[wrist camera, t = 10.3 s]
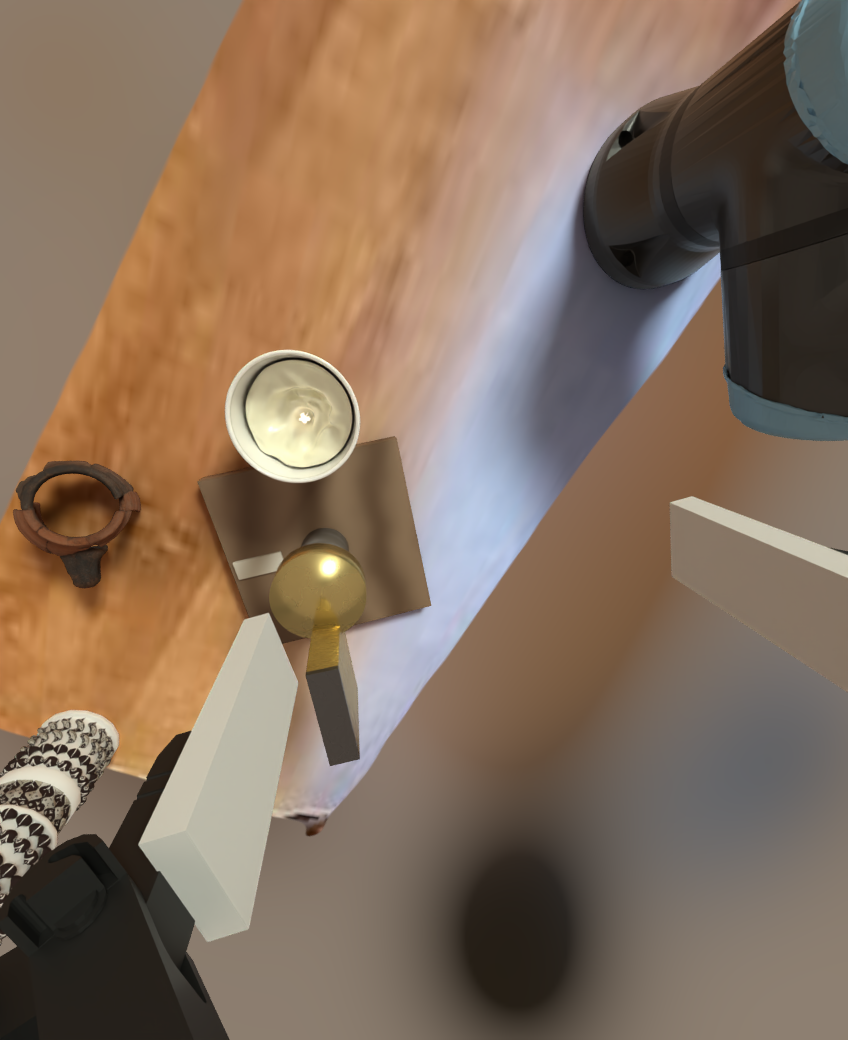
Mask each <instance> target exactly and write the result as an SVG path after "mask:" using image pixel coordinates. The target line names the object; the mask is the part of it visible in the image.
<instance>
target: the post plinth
mask: <svg viewBox="0 0 848 1040" xmlns="http://www.w3.org/2000/svg"><path fill="white" fill-rule="evenodd" d="M198 485H199V487H200V490H201V493H202V495H203V498H204V501H205V503H206V506H207V508H208V511H209V514H210V516H211V519H212V521H213V524H214V527H215V529H216V532H217V534H218V537H219V540H220V542H221V545H222V548H223V550H224V553H225V555H226V558H227V561H228V563H229V566H230V568H231V571H232V574H233V576H234V579H235V581H236V584H237V587H238V589H239V592H240V595H241V597H242V600H243V602H244V605H245V608H246V610H247V613H248V615H249V618H252V617H256V616H259V615H263V614H266V613H269V614H270V617H271V619H272V621H273V624H274V626H275V629H276V631H277V633H278V636H279V638H280V640H281V643H282V644H283V643H287V642H291V641H295V640H299V639H302V638H304V637H301V636H298V635H296V634H293V633H291V632H290V631H288V630H287V629H285V628H284V627H283V626H282V625H281V624H280V623H279V622H278V621H277V619H276V618H275V616H274V614H273V613H272V610H271V607H270V602H269V593H270V588H271V584H272V581H273V579H274V576H275V573H276V571H277V569H278V566H279V565H280V563H281V562H282V560H283V559H284V558H285V557H286V556H287V555H288V554H289V553H291V552H292V551H294V550H296V549H297V548H299V547H302V546H305V545H309V544H314V543H326V544H332V545H336V546H338V547H341V548H343V549H345V550H346V551H348V552H349V553H351V554H352V555H353V556H354V557H355V558H356V559H357V560H358V562H359V563H360V565H361V567H362V569H363V571H364V575H365V582H366V594H367V595H366V605H365V608H364V611H363V613H362V615H361V616H360V618H359V619H358V621H357V622H356V623H355V624H354V625H357V624H361V623H365V622H369V621H373V620H377V619H381V618H385V617H389V616H393V615H397V614H401V613H405V612H408V611H412V610H416V609H420V608H424V607H428V606H431V602H430V597H429V592H428V587H427V583H426V578H425V573H424V568H423V563H422V559H421V554H420V549H419V544H418V539H417V535H416V530H415V525H414V520H413V515H412V510H411V506H410V501H409V496H408V491H407V486H406V482H405V477H404V472H403V467H402V462H401V458H400V453H399V448H398V443H397V439H396V437H395V436H394V437H389V438H384V439H380V440H375V441H370V442H366V443H361V444H356V446H355V448H354V450H353V452H352V454H351V455H350V457H349V458H348V459H347V461H346V462H345V463H344V464H343V465H342V466H341V467H340V468H339V469H338V470H336V471H335V472H333V473H332V474H330V475H329V476H327V477H324V478H322V479H319V480H316V481H312V482H307V483H288V482H283V481H279V480H276V479H273V478H270V477H268V476H266V475H264V474H262V473H260V472H259V471H257V470H256V469H254V468H253V467H249V468H244V469H240V470H235V471H230V472H226V473H221V474H216V475H212V476H207V477H203V478H202V479H201V480H199V481H198ZM354 625H353V626H354Z"/></svg>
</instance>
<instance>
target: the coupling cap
mask: <svg viewBox="0 0 848 1040" xmlns="http://www.w3.org/2000/svg"><path fill="white" fill-rule="evenodd" d="M366 595H367V594H366V582H365V575H364V571H363V569H362V567H361V565H360V563H359V562H358V560H357V559H356V558H355V557H354V556H353V555H352V554H351V553H349V552H348V551H346V550H345V549H343V548H341V547H338V546H336V545H332V544H326V543H314V544H309V545H305V546H302V547H299V548H297V549H296V550H294V551H292V552H291V553H289V554H288V555H287V556H286V557H285V558H284V559H283V560H282V562H281V563H280V565H279V566H278V569H277V571H276V573H275V576H274V579H273V581H272V584H271V588H270V593H269V602H270V607H271V610H272V613H273V614H274V616H275V618H276V619H277V621H278V622H279V623H280V624H281V625H282V626H283V627H284V628H285V629H287V630H288V631H290V632H291V633H293V634H296V635H298V636H301V637H304V638H310V639H311V642H310V649H309V656H308V663H307V670H306V679H307V682H308V686H309V690H310V694H311V697H312V701H313V705H314V708H315V712H316V716H317V720H318V723H319V727H320V731H321V734H322V738H323V742H324V746H325V749H326V753H327V757H328V760H329V764H330V766H333V765H337V764H341V763H345V762H349V761H354V760H358V759H360V753H359V718H358V688H357V683H356V679H355V674H354V670H353V665H352V661H351V656H350V652H349V647H348V643H347V638H346V634H345V631H346V630H348V629H349V628H351V627H352V626H353V625H354V624H355V623H356V622H357V621H358V619H359V618H360V616H361V615H362V613H363V611H364V608H365V605H366Z"/></svg>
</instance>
